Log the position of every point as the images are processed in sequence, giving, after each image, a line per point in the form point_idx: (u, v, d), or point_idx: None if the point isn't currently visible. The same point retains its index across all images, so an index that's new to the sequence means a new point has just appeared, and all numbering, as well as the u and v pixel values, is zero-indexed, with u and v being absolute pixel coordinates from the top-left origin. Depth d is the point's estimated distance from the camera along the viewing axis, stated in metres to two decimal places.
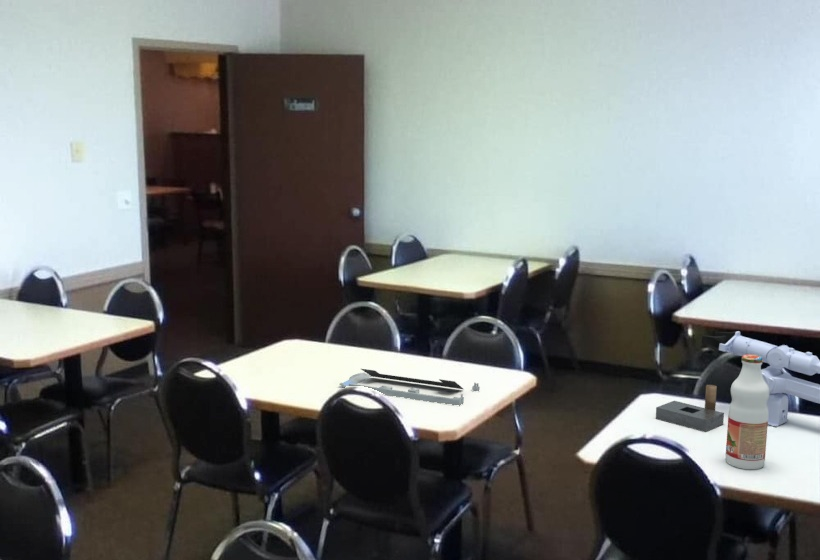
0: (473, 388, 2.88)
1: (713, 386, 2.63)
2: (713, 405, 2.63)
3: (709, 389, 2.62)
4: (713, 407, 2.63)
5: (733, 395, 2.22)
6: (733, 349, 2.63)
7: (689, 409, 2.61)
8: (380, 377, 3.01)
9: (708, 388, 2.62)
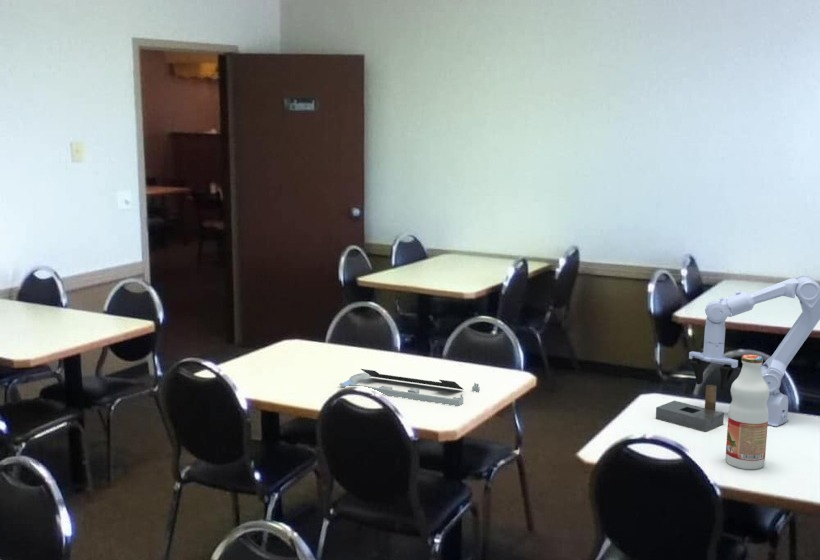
0: (473, 388, 2.87)
1: (713, 386, 2.63)
2: (713, 405, 2.63)
3: (709, 389, 2.62)
4: (713, 407, 2.63)
5: (733, 395, 2.22)
6: (723, 356, 2.60)
7: (689, 409, 2.61)
8: (380, 377, 3.01)
9: (708, 388, 2.62)
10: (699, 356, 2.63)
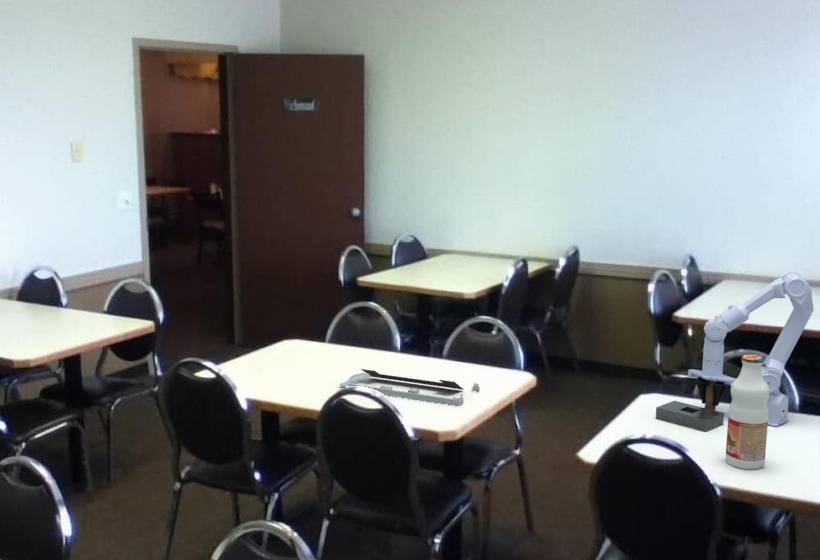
0: (473, 388, 2.87)
1: None
2: None
3: (709, 389, 2.62)
4: (713, 407, 2.63)
5: (733, 395, 2.22)
6: (722, 374, 2.61)
7: (689, 409, 2.61)
8: (380, 377, 3.01)
9: (708, 388, 2.62)
10: (698, 374, 2.64)
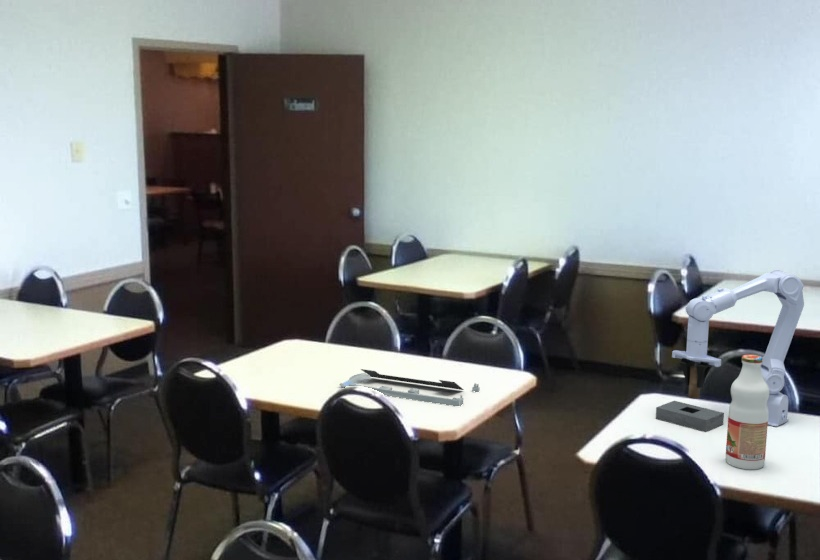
0: (473, 389, 2.87)
1: None
2: None
3: (693, 370, 2.56)
4: (697, 389, 2.57)
5: (733, 395, 2.22)
6: (706, 355, 2.55)
7: (689, 409, 2.61)
8: None
9: (692, 369, 2.56)
10: (682, 355, 2.58)
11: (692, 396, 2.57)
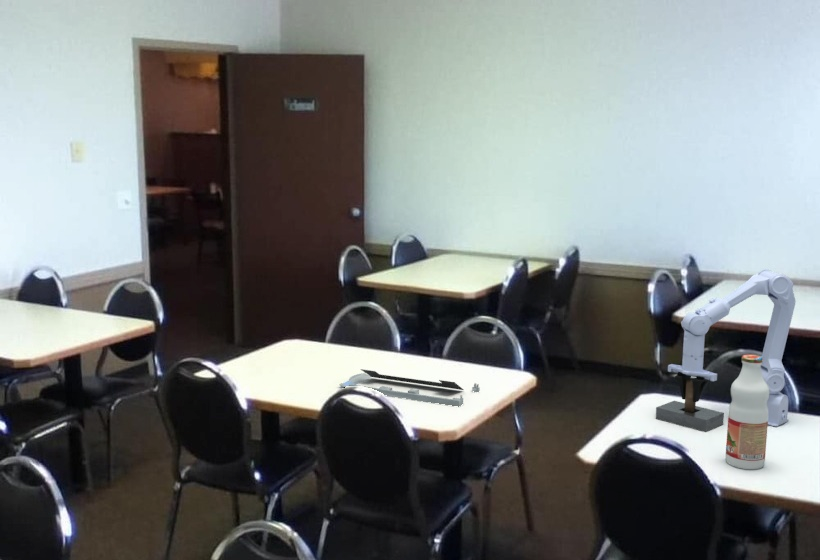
0: (473, 389, 2.87)
1: None
2: None
3: (689, 384, 2.56)
4: (693, 403, 2.56)
5: (733, 395, 2.22)
6: (702, 369, 2.55)
7: None
8: None
9: (688, 383, 2.56)
10: (678, 369, 2.57)
11: (688, 410, 2.57)
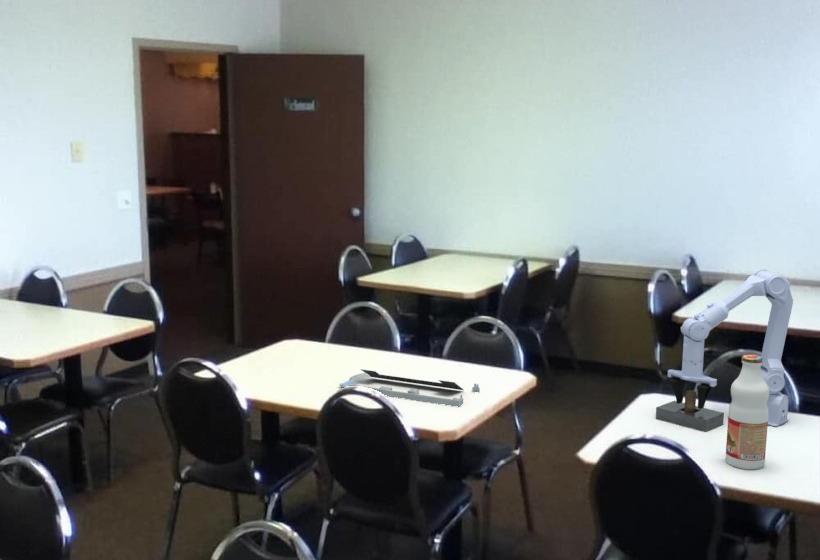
0: (473, 389, 2.87)
1: (693, 392, 2.57)
2: (692, 411, 2.57)
3: (688, 395, 2.56)
4: None
5: (733, 395, 2.22)
6: None
7: None
8: None
9: (687, 394, 2.56)
10: (678, 374, 2.58)
11: None
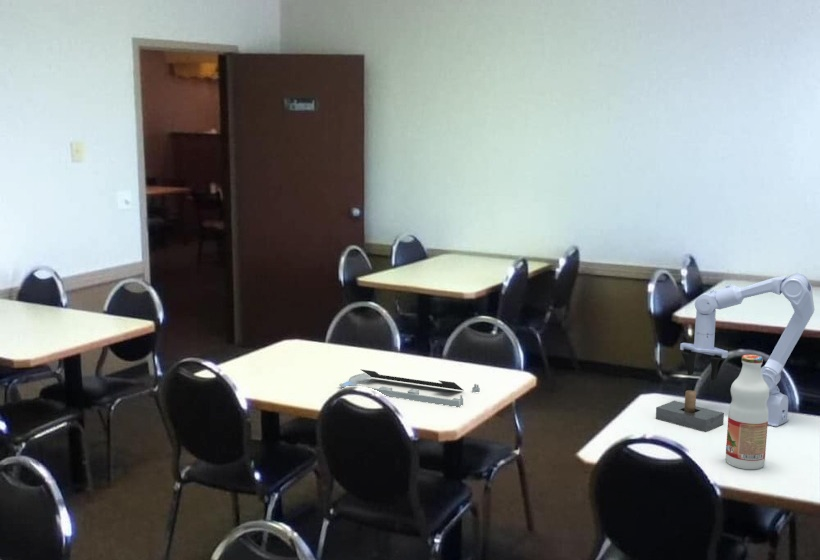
0: (473, 389, 2.86)
1: (693, 392, 2.57)
2: (693, 411, 2.57)
3: (688, 395, 2.56)
4: None
5: (733, 395, 2.22)
6: (713, 346, 2.65)
7: None
8: (380, 378, 3.00)
9: (687, 394, 2.56)
10: (690, 347, 2.68)
11: None
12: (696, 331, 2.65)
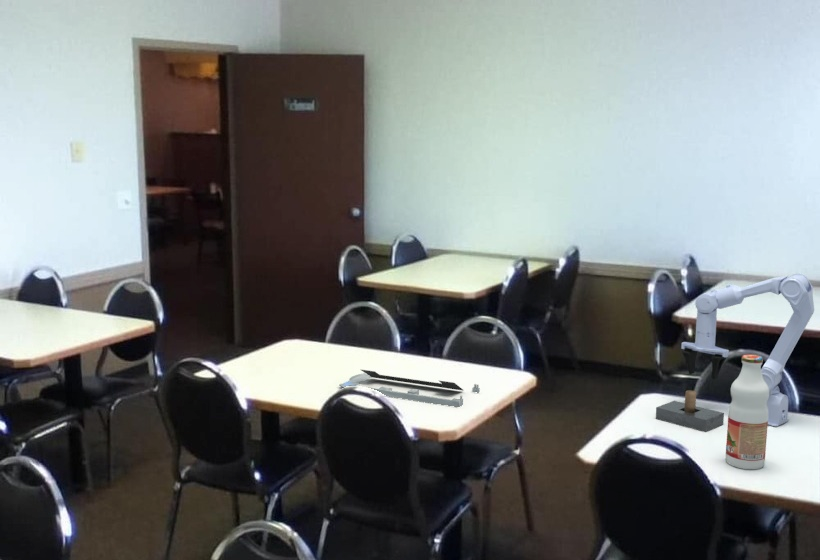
0: (473, 389, 2.86)
1: (693, 392, 2.57)
2: (693, 411, 2.57)
3: (688, 395, 2.56)
4: None
5: (733, 395, 2.22)
6: (714, 346, 2.67)
7: None
8: (380, 378, 3.00)
9: (687, 394, 2.56)
10: (691, 346, 2.69)
11: None
12: (697, 330, 2.67)
